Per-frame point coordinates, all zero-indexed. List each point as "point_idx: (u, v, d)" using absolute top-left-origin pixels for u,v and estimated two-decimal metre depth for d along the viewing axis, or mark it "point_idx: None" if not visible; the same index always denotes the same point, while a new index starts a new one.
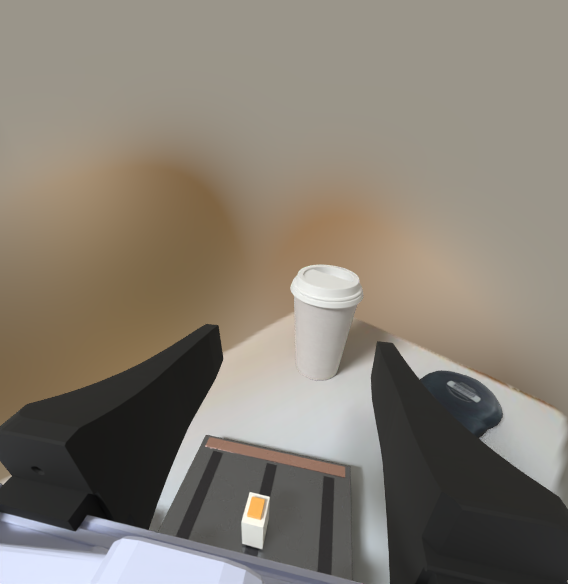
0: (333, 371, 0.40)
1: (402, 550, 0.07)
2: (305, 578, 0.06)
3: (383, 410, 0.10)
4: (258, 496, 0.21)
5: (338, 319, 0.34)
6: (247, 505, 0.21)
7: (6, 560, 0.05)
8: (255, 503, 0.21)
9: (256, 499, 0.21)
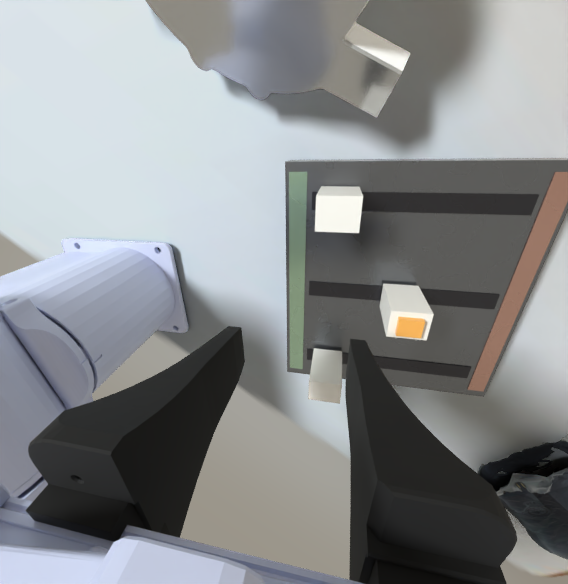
0: None
1: (356, 540, 0.07)
2: (305, 578, 0.06)
3: (352, 405, 0.10)
4: (426, 326, 0.14)
5: None
6: (413, 314, 0.14)
7: (6, 560, 0.05)
8: (414, 327, 0.14)
9: (420, 328, 0.14)
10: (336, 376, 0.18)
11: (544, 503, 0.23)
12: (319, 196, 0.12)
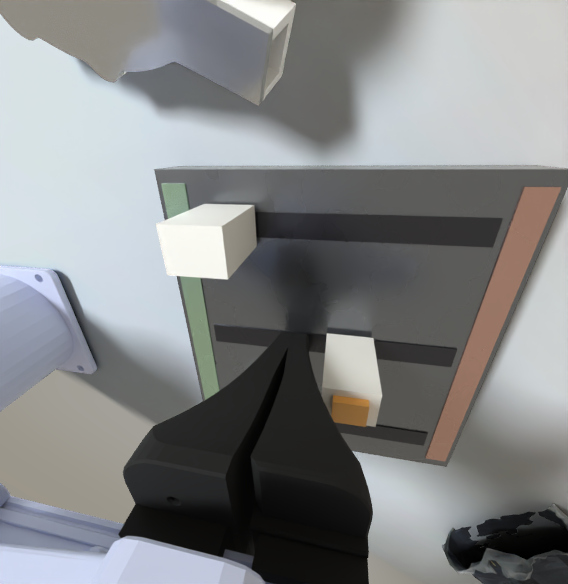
0: None
1: None
2: None
3: None
4: (374, 409, 0.10)
5: None
6: (353, 394, 0.09)
7: (6, 560, 0.05)
8: (355, 413, 0.09)
9: (364, 414, 0.09)
10: None
11: None
12: (160, 225, 0.08)
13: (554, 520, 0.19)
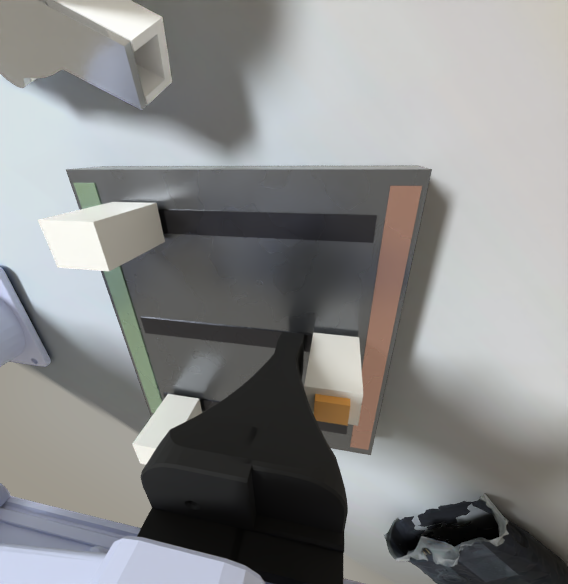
0: None
1: None
2: None
3: None
4: (356, 408, 0.10)
5: None
6: (335, 392, 0.10)
7: (6, 560, 0.05)
8: (337, 411, 0.10)
9: (345, 413, 0.10)
10: None
11: (458, 572, 0.19)
12: (42, 221, 0.09)
13: (488, 510, 0.19)
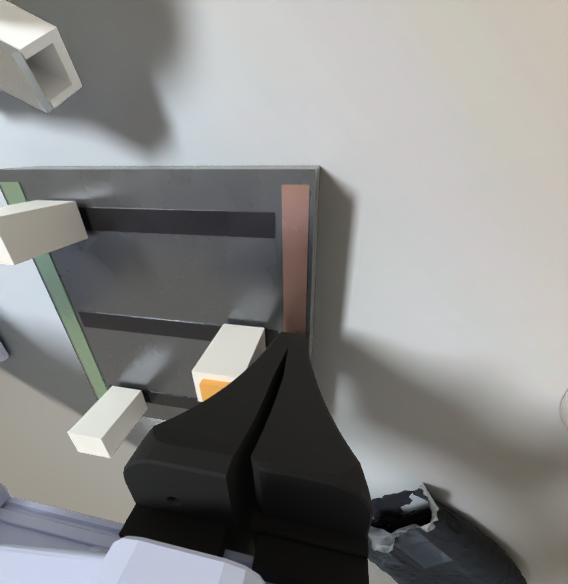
0: None
1: None
2: None
3: None
4: None
5: None
6: (218, 377, 0.10)
7: (6, 560, 0.05)
8: None
9: None
10: (105, 425, 0.15)
11: (399, 559, 0.20)
12: None
13: (427, 499, 0.20)
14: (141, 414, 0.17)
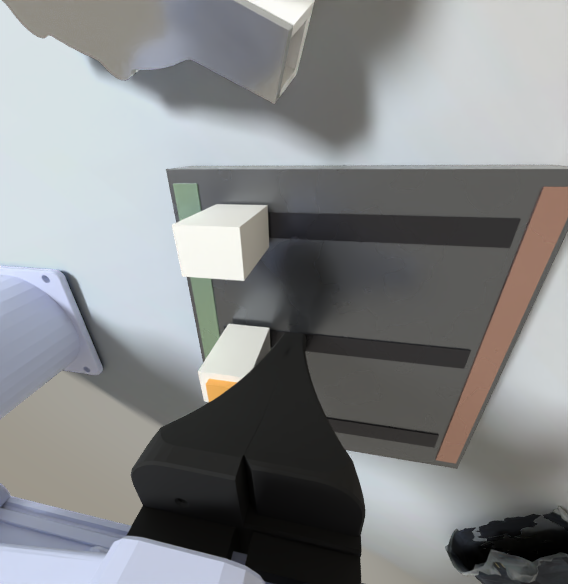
0: None
1: None
2: None
3: None
4: None
5: None
6: (225, 377, 0.10)
7: (6, 560, 0.05)
8: None
9: None
10: None
11: None
12: (176, 226, 0.08)
13: (558, 523, 0.19)
14: None
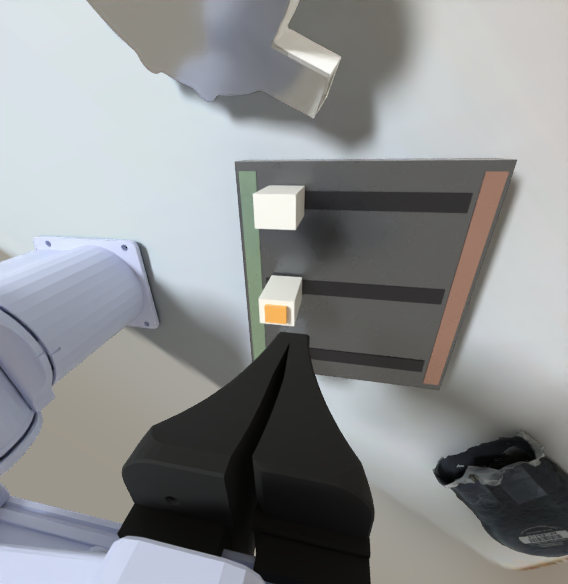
0: None
1: None
2: None
3: None
4: (291, 313, 0.15)
5: None
6: (277, 302, 0.15)
7: (6, 560, 0.05)
8: (278, 314, 0.15)
9: (283, 314, 0.15)
10: None
11: (496, 496, 0.24)
12: (255, 194, 0.13)
13: (522, 446, 0.23)
14: None
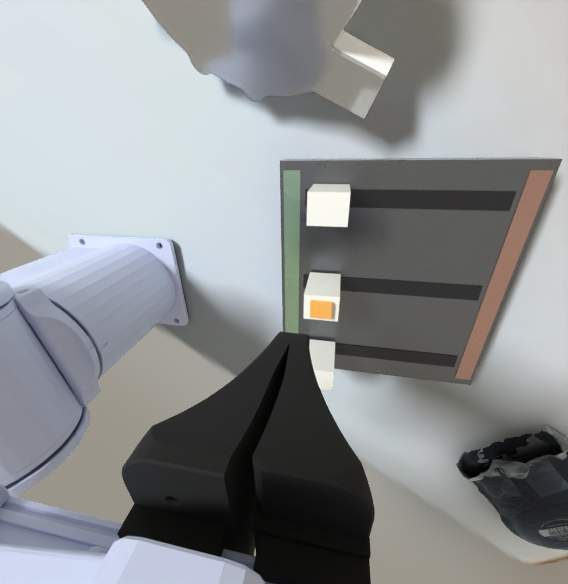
0: None
1: None
2: None
3: None
4: (336, 308, 0.16)
5: None
6: (322, 297, 0.16)
7: (6, 560, 0.05)
8: (324, 309, 0.16)
9: (329, 310, 0.15)
10: (329, 364, 0.19)
11: (519, 489, 0.24)
12: (310, 192, 0.13)
13: (546, 440, 0.24)
14: None
